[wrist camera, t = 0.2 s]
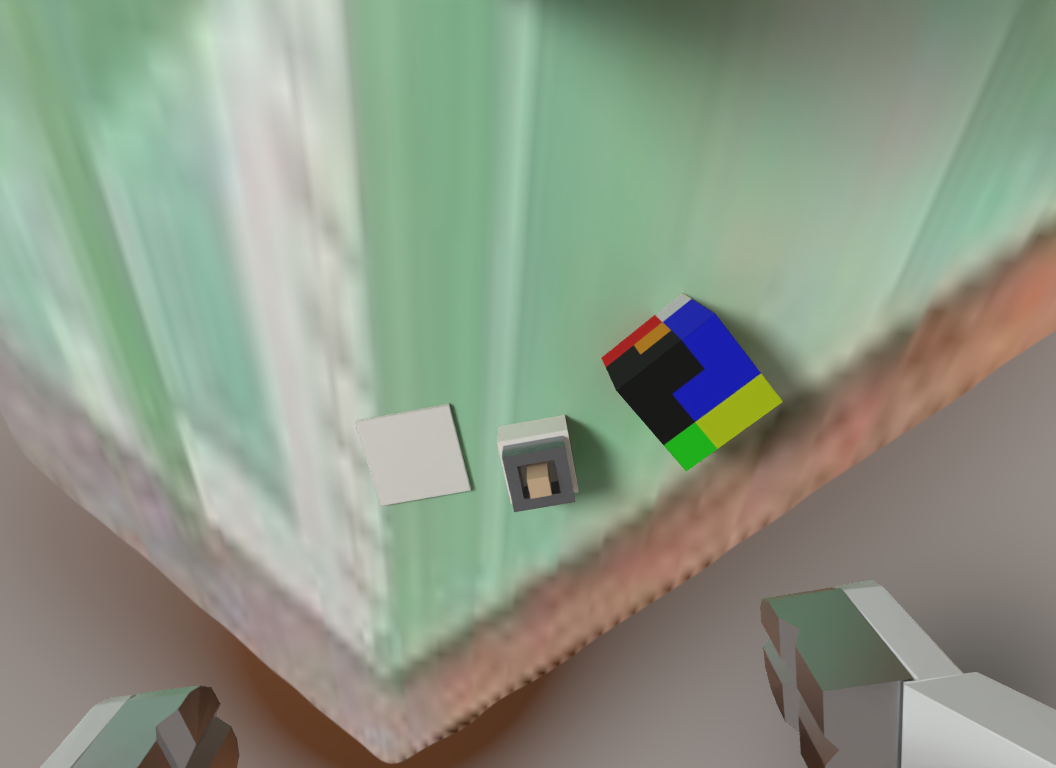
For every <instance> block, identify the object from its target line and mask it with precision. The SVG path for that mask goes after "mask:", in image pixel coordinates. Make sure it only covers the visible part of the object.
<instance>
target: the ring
mask: <svg viewBox="0 0 1056 768" xmlns="http://www.w3.org/2000/svg"><path fill="white" fill-rule="evenodd" d="M502 460H503V465H504V469H505V473H506V478H507V482H508V486H509V491H510V495H511V499H512V504H513V508H514V512H518V511H524V510H530V509H536V508H542V507H548V506H554V505H559V504H565V503H571V502H575V497H574V491H573V485H572V480H571V474H570V469H569V464H568V459H567V453H566V448H565V443H564V437H563V436H557V437H551V438H546V439H540V440H534V441H529V442H523V443H517V444H512V445H506V446H503V451H502ZM551 460H554V461H555V466H556V471H557V476H558V481H554V482H551V491H552V495H550V496H544V497H539V498H533V499H531V497H530V493H529V488H528V486H525V487H524V483H523V478H522V474H521V469H520V466H522V465H528V464H534V463H539V462H545V461H551Z"/></svg>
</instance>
